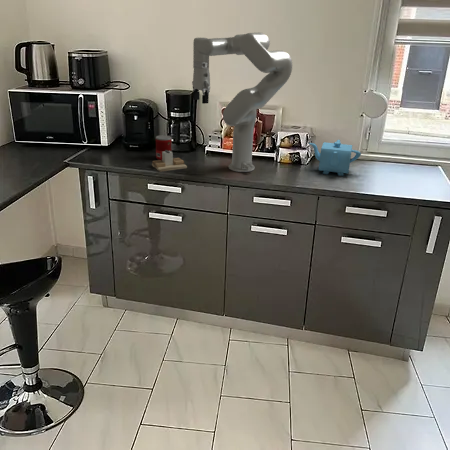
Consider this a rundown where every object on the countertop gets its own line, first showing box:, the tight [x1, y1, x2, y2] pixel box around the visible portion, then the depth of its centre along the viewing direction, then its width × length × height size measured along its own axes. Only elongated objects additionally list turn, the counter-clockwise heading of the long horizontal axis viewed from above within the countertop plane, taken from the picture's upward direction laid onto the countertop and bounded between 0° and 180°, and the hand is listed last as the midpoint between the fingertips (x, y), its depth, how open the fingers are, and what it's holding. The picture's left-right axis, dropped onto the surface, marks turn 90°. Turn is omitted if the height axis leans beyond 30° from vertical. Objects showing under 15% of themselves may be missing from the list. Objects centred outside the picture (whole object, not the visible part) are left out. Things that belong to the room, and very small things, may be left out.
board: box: [151, 157, 188, 173], centre depth 235 cm, size 10×14×2 cm
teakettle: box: [308, 139, 362, 177], centre depth 234 cm, size 19×19×15 cm
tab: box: [161, 150, 174, 166], centre depth 234 cm, size 4×4×7 cm
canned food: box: [155, 134, 173, 161], centre depth 245 cm, size 8×8×11 cm
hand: (200, 101), depth 240 cm, fingers open, 9 cm apart
